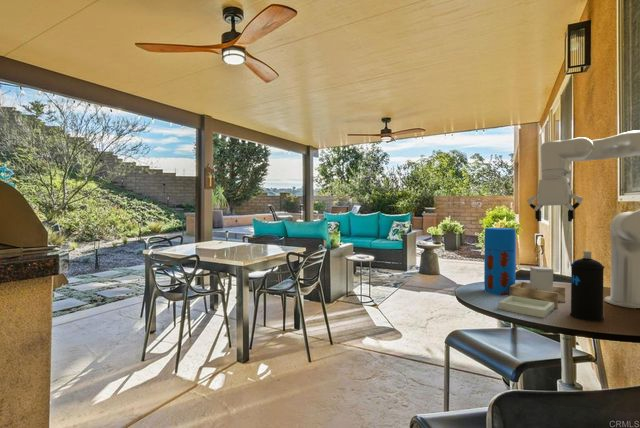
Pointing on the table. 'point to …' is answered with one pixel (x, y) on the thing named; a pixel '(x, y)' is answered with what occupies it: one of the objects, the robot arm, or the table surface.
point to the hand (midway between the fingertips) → (554, 221)
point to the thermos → (499, 260)
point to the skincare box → (541, 278)
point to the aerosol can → (587, 289)
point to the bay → (537, 293)
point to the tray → (527, 306)
